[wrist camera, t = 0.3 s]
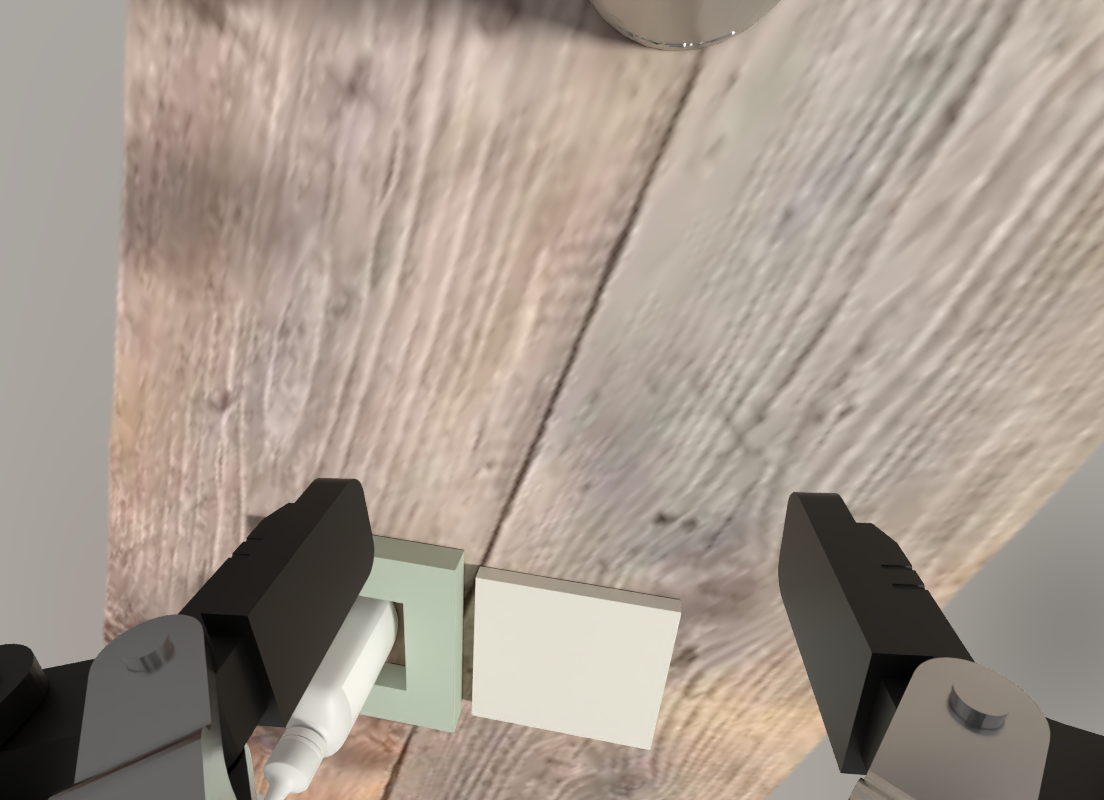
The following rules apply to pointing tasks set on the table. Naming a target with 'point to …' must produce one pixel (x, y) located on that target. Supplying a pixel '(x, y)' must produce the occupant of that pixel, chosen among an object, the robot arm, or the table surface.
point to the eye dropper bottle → (333, 696)
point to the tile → (571, 656)
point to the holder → (420, 633)
